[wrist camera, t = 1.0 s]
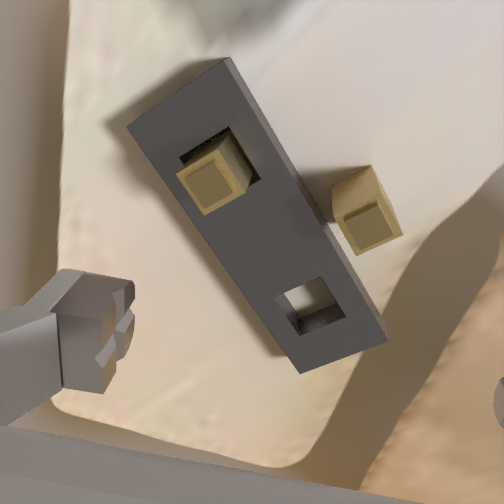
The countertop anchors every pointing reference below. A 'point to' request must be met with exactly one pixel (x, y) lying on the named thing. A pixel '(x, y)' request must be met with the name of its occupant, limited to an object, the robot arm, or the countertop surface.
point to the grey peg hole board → (263, 221)
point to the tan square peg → (217, 173)
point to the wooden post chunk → (364, 211)
